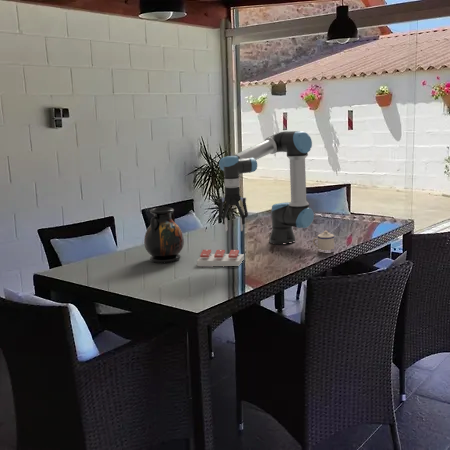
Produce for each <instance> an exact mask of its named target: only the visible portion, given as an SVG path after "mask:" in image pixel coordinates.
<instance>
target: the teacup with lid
mask: <svg viewBox="0 0 450 450" xmlns="http://www.w3.org/2000/svg"><path fill="white" fill-rule="evenodd" d="M316 240H317V243H316ZM312 243H313V245H314V247H317V250H318V249H321V250H331V249H334V250H335V235H334V233H333V234H332V233H330V232H329V231H328V230H324V231H323V232H321V233H319V234H318V235H317V237H315V238H313V240H312Z"/></svg>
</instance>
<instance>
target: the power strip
mask: <svg viewBox="0 0 450 450" xmlns="http://www.w3.org/2000/svg"><path fill="white" fill-rule="evenodd" d="M214 255H215V253H211V254H210V257H209V258H202V257H200V256H199V258H197V260H196V264H197V265H196V266H197V267H213V266H223V267H224V266H239V265H240V264H241V263H243V262H244V261H245V253H243V254H242V253H239V254H238V258H229V257H228V256H229V253H225V254H224V257H223V258H214ZM243 260H244V261H243ZM242 261H243V262H242ZM241 265H242V264H241ZM241 265H240V266H241ZM240 266H239V267H240ZM223 267H222V268H223Z"/></svg>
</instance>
